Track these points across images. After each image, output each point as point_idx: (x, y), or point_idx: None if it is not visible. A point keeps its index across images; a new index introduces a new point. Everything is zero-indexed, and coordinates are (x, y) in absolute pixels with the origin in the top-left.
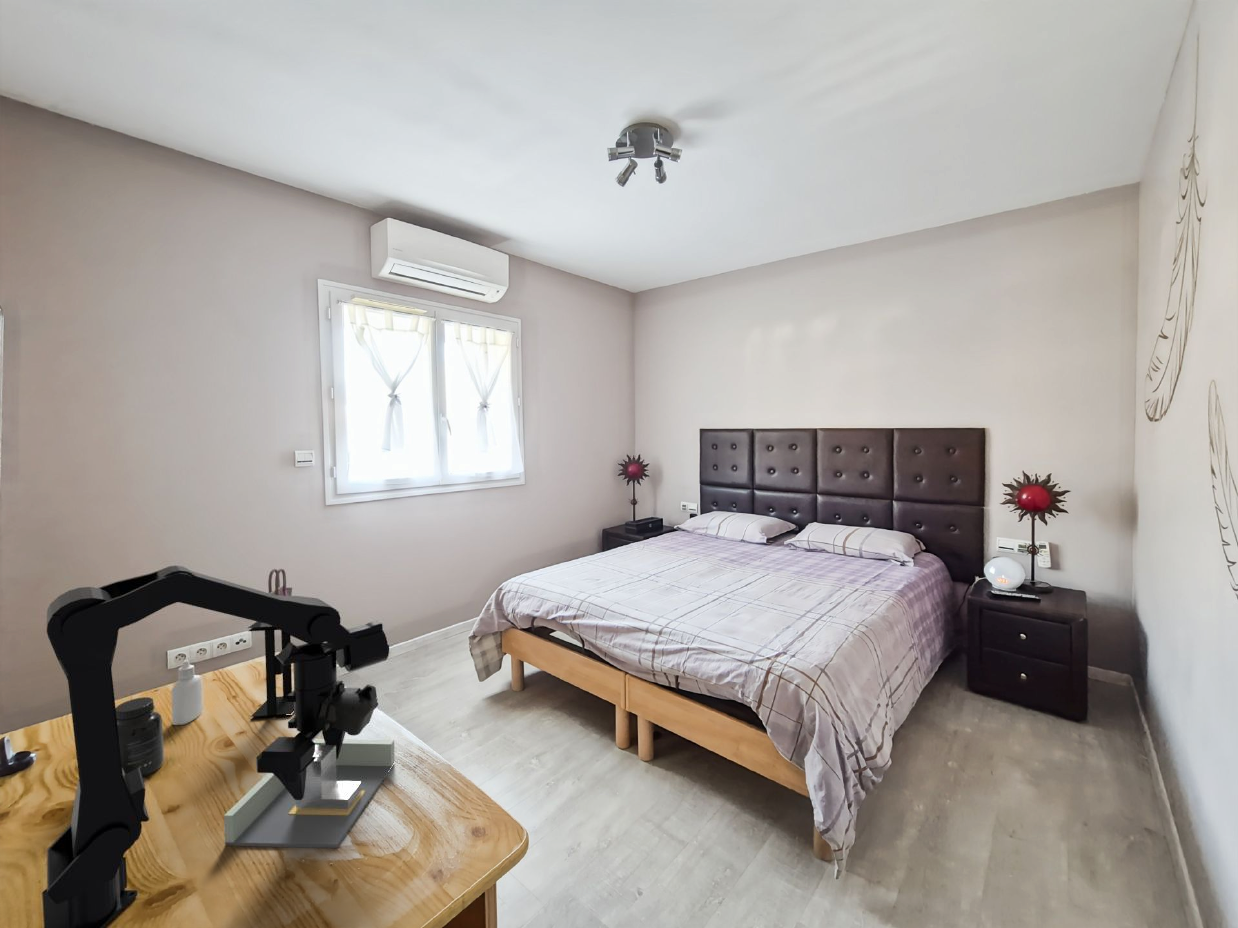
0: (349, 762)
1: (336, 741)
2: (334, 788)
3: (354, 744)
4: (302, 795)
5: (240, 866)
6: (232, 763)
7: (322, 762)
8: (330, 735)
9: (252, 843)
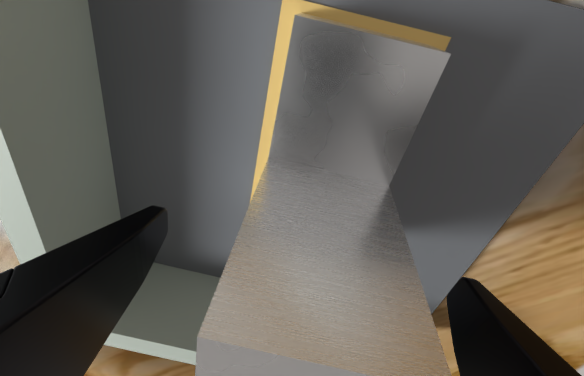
0: (98, 135)
1: (88, 295)
2: (324, 151)
3: (14, 149)
4: (492, 296)
5: (513, 289)
6: (139, 365)
7: (427, 361)
8: (57, 366)
9: (447, 292)
